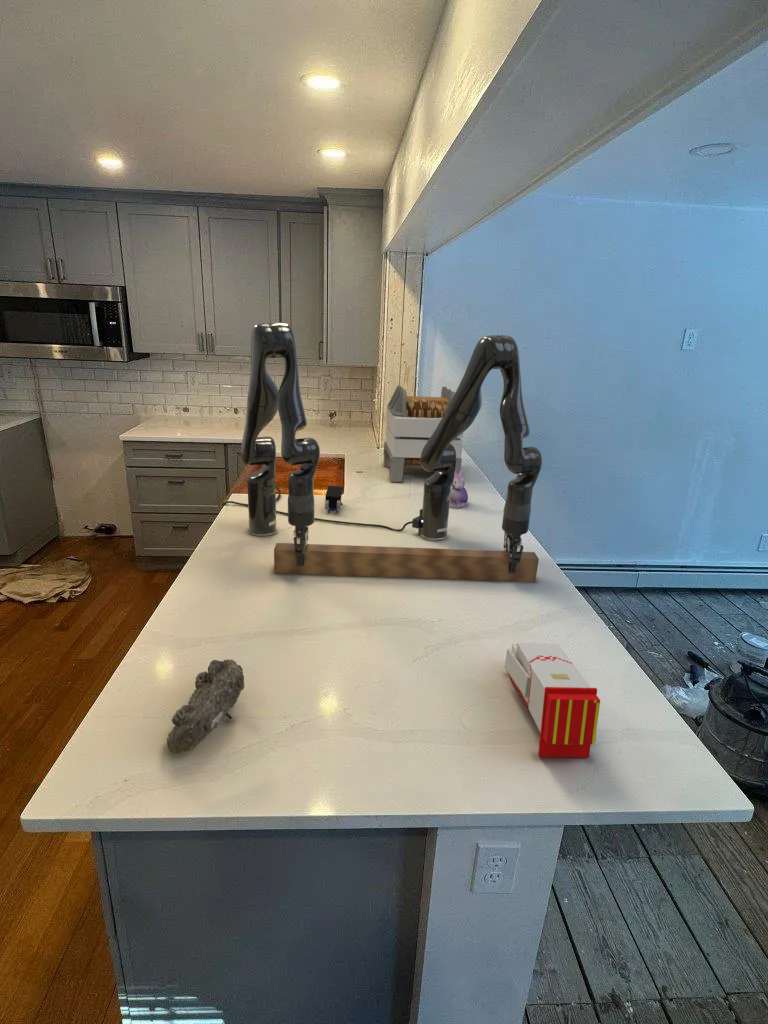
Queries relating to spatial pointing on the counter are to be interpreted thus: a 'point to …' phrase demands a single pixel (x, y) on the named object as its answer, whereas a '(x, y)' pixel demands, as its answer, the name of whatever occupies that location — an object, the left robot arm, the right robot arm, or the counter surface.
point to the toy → (555, 698)
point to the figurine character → (333, 498)
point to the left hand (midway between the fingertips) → (301, 561)
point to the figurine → (458, 491)
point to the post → (405, 562)
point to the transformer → (413, 429)
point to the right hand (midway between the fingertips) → (509, 568)
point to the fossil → (206, 705)
